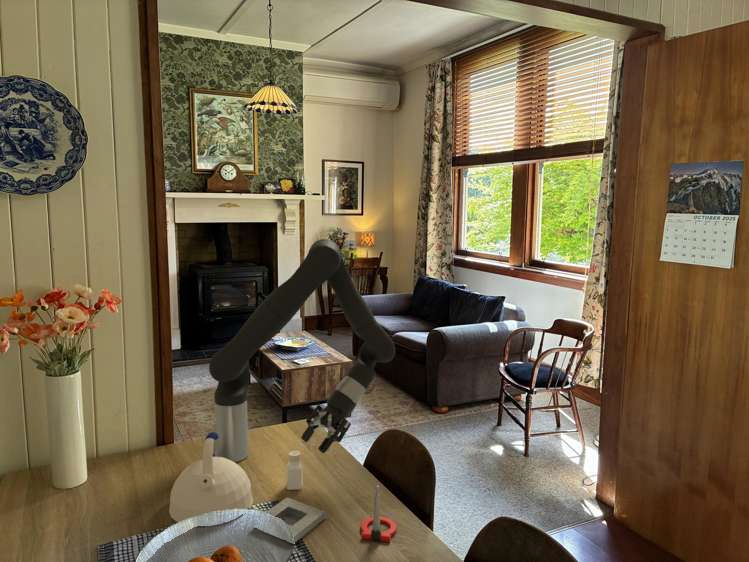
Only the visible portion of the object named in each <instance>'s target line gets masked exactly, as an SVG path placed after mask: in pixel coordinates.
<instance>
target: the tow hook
mask: <svg viewBox="0 0 749 562" xmlns="http://www.w3.org/2000/svg"><path fill="white" fill-rule="evenodd" d="M380 501H381V494H380V486H379V485H375V494H374V502H373V503H374V507H373V508H374V511H373V513H374V514H373V516H371V517H368V518H365V519H364V520H363V521H362V522H361V523H360V531H361V537H360V538H361V540H368V541H372V542H385V543H386V542H388V543H391V541H392V537H393V536H394V535H395V534H396V533H397V531H398V530H397V528H398V527H397V526H398V525H397V523H396V522H395V521H394V520H392V519H391V518H389V517H384V516H380V504H381V502H380ZM380 522H382V523H380ZM371 524H372V528H371V529H369V528H368V527H369V526H370V525H371ZM381 524H385V525H387V526H388V527H389V526H390V527H389V529H387V530H386V531H383V532H382V527H381Z"/></svg>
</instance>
